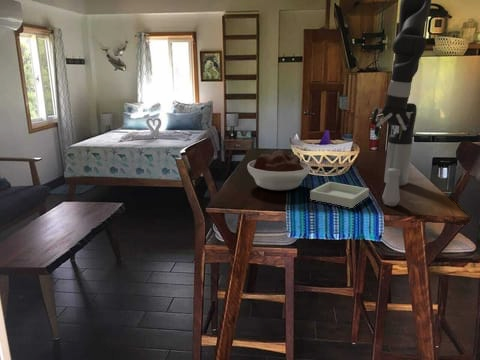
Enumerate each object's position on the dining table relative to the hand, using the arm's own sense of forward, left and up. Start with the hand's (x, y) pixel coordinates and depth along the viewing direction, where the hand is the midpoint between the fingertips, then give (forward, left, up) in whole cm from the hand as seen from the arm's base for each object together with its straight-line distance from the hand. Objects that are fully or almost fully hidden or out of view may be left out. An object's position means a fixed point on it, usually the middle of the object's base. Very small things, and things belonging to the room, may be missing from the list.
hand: (388, 137), depth 150 cm
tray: (+17, -11, -22) cm, 29 cm away
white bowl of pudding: (+18, -37, -22) cm, 46 cm away
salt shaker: (+12, +6, -22) cm, 26 cm away
